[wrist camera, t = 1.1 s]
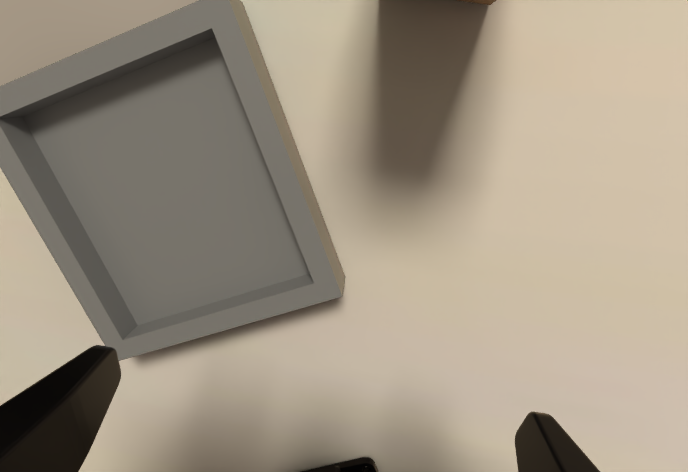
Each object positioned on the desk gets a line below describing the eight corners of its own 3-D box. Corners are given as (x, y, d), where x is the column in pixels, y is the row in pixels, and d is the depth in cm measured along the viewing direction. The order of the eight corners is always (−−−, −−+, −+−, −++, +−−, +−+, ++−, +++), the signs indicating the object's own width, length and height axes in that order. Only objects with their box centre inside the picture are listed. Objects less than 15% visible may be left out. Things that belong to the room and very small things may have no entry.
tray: (345, 276, 21) (342, 296, 19) (138, 337, 23) (114, 362, 21) (242, 2, 17) (224, -11, 15) (6, 102, 19) (-38, 102, 17)
